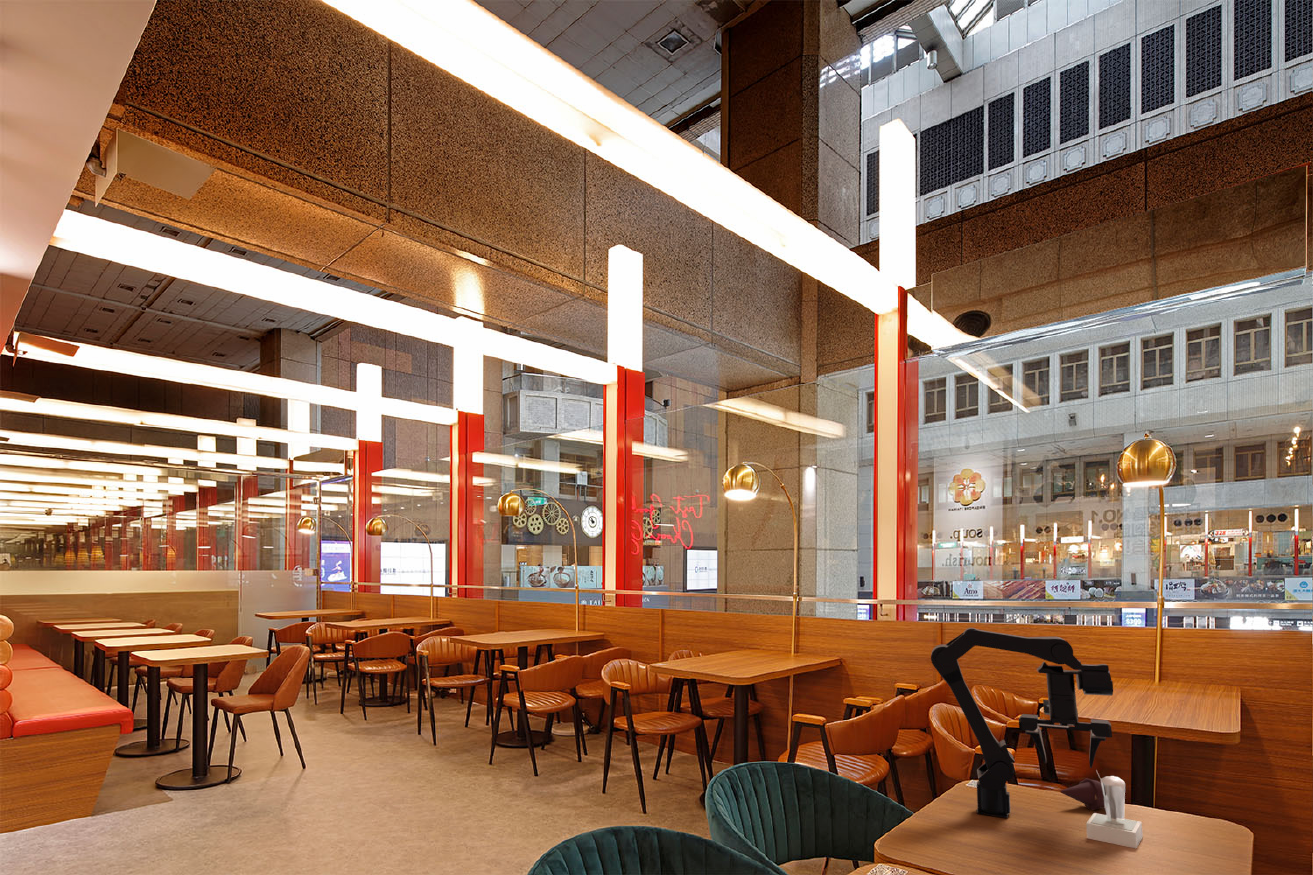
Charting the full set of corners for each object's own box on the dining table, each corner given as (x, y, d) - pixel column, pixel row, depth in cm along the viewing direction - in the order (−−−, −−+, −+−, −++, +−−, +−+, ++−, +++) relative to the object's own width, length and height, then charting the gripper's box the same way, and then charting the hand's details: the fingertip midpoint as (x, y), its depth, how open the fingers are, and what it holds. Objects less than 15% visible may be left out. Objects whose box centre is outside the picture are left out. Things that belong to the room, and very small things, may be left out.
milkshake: (1101, 816, 171) (1098, 767, 172) (1129, 821, 167) (1126, 772, 169) (1097, 821, 167) (1093, 771, 169) (1126, 827, 164) (1122, 776, 165)
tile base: (1087, 838, 166) (1086, 822, 166) (1095, 827, 173) (1094, 812, 173) (1136, 848, 160) (1135, 831, 161) (1142, 836, 167) (1141, 821, 168)
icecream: (1072, 785, 182) (1133, 791, 183) (1054, 769, 190) (1113, 774, 191) (1067, 814, 183) (1128, 819, 184) (1049, 796, 190) (1108, 801, 191)
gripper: (1107, 691, 183) (1114, 761, 181) (1019, 686, 192) (1024, 753, 189) (1108, 698, 174) (1115, 772, 171) (1016, 692, 182) (1021, 763, 180)
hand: (1067, 764), depth 178 cm, fingers open, 9 cm apart
